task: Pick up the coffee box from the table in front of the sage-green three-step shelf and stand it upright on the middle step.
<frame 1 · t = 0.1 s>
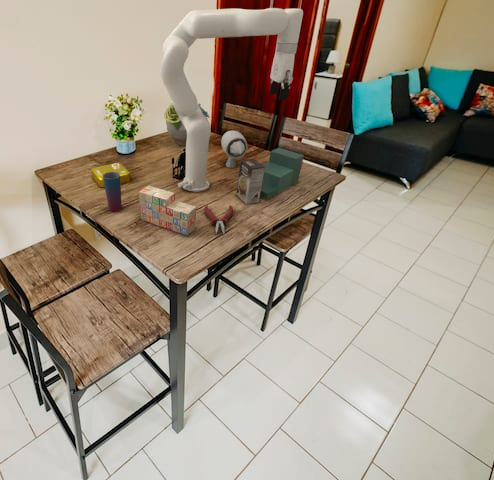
hand: (278, 96, 136), 37 cm above the table, tool pointing down, fingers open, 9 cm apart
stack of blocks: (167, 224, 128), on the table
white rounded piece: (230, 167, 171), on the table
pliers: (215, 221, 130), on the table
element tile: (111, 179, 161), on the table
cup: (115, 209, 138), on the table
potted succulent plant: (184, 143, 201), on the table
coffee box: (247, 198, 144), on the table
step shelf: (270, 185, 153), on the table
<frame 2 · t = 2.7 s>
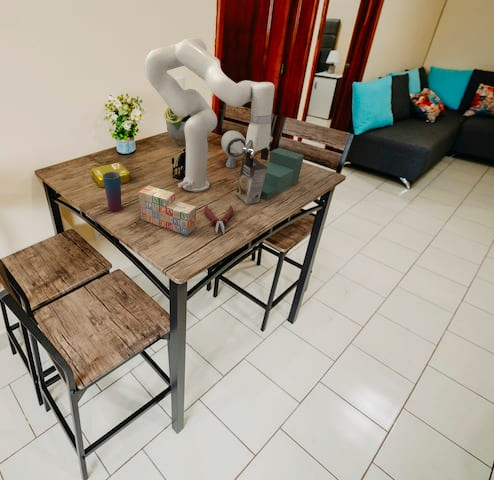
hand: (256, 163, 134), 16 cm above the table, tool pointing down, fingers open, 9 cm apart
coffee box: (247, 198, 144), on the table, touching gripper
everything else where it was.
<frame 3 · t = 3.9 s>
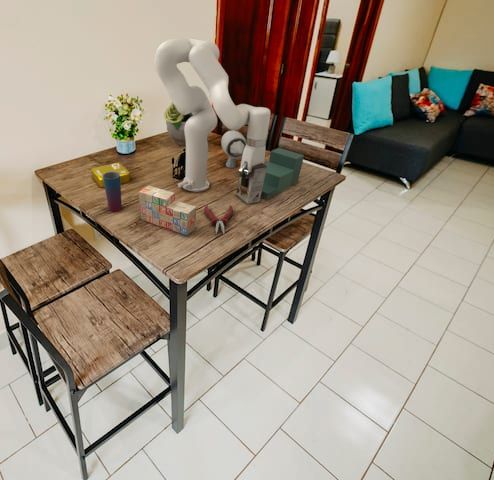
hand: (250, 182, 140), 7 cm above the table, tool pointing down, fingers closed on coffee box, 7 cm apart
coffee box: (247, 198, 144), on the table, touching gripper
everything else where it was.
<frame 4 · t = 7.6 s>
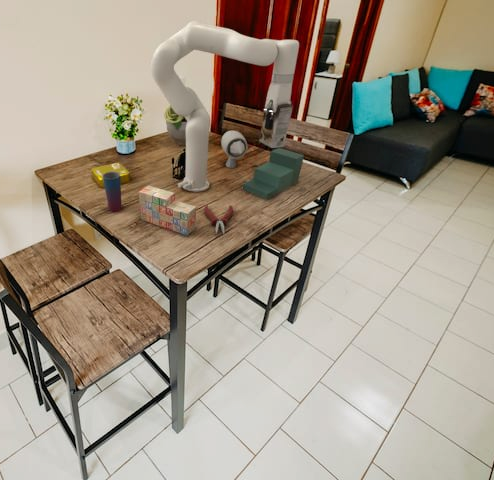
hand: (274, 126, 134), 28 cm above the table, tool pointing down, fingers closed on coffee box, 7 cm apart
coffee box: (271, 144, 138), point 21 cm above the table, touching gripper
everything else where it was.
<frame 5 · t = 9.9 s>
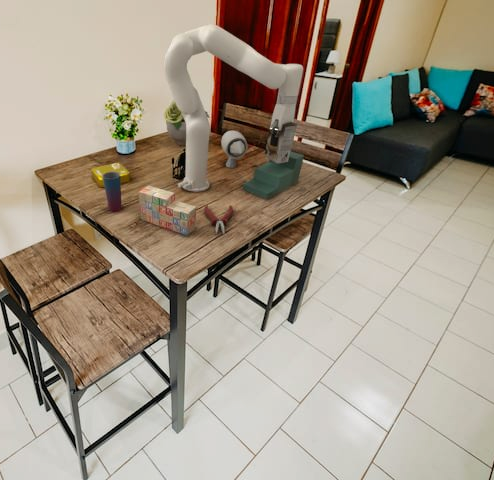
hand: (279, 143, 142), 20 cm above the table, tool pointing down, fingers closed on coffee box, 7 cm apart
coffee box: (275, 159, 146), point 13 cm above the table, touching gripper
everything else where it was.
when the fingers open (15 cm above the table, at t = 11.6 s): coffee box stays where it is, resting on step shelf.
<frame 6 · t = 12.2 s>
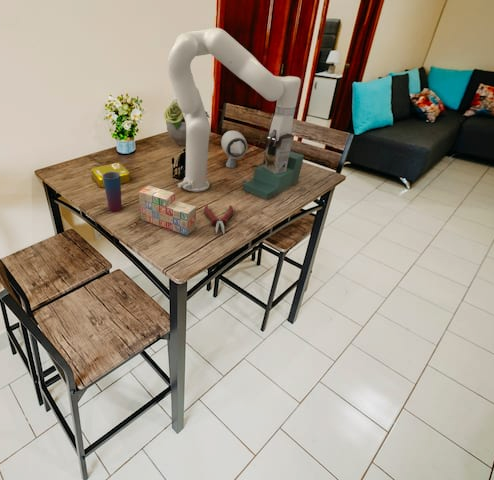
hand: (277, 152, 144), 16 cm above the table, tool pointing down, fingers open, 9 cm apart
coffee box: (273, 169, 149), point 8 cm above the table, touching step shelf
everything else where it was.
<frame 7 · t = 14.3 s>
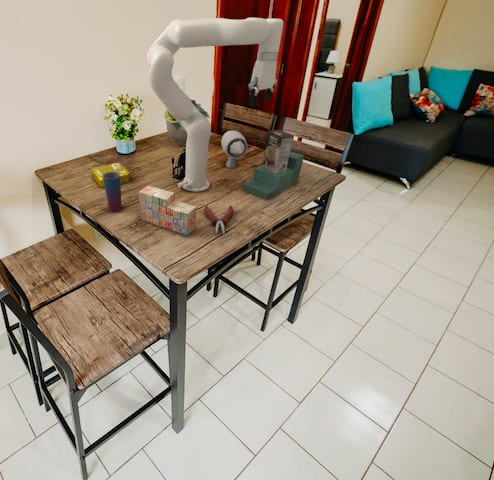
hand: (259, 103, 139), 34 cm above the table, tool pointing down, fingers open, 9 cm apart
nothing on the table moved.
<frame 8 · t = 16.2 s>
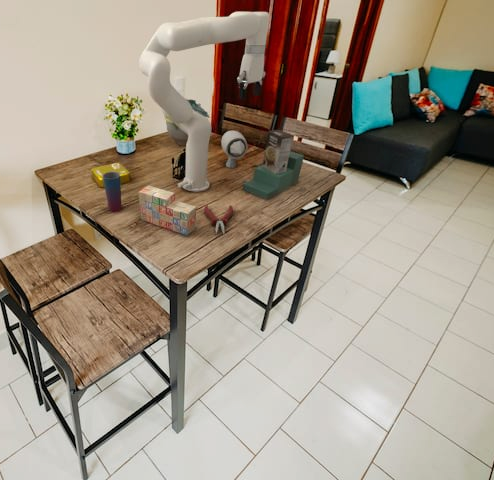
hand: (249, 97, 140), 36 cm above the table, tool pointing down, fingers open, 9 cm apart
nothing on the table moved.
at the end: coffee box inside the target area on the step shelf (0.4 cm from its centre), point 7.8 cm above the step shelf's base; coffee box tilted 0°; the gripper is holding nothing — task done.
